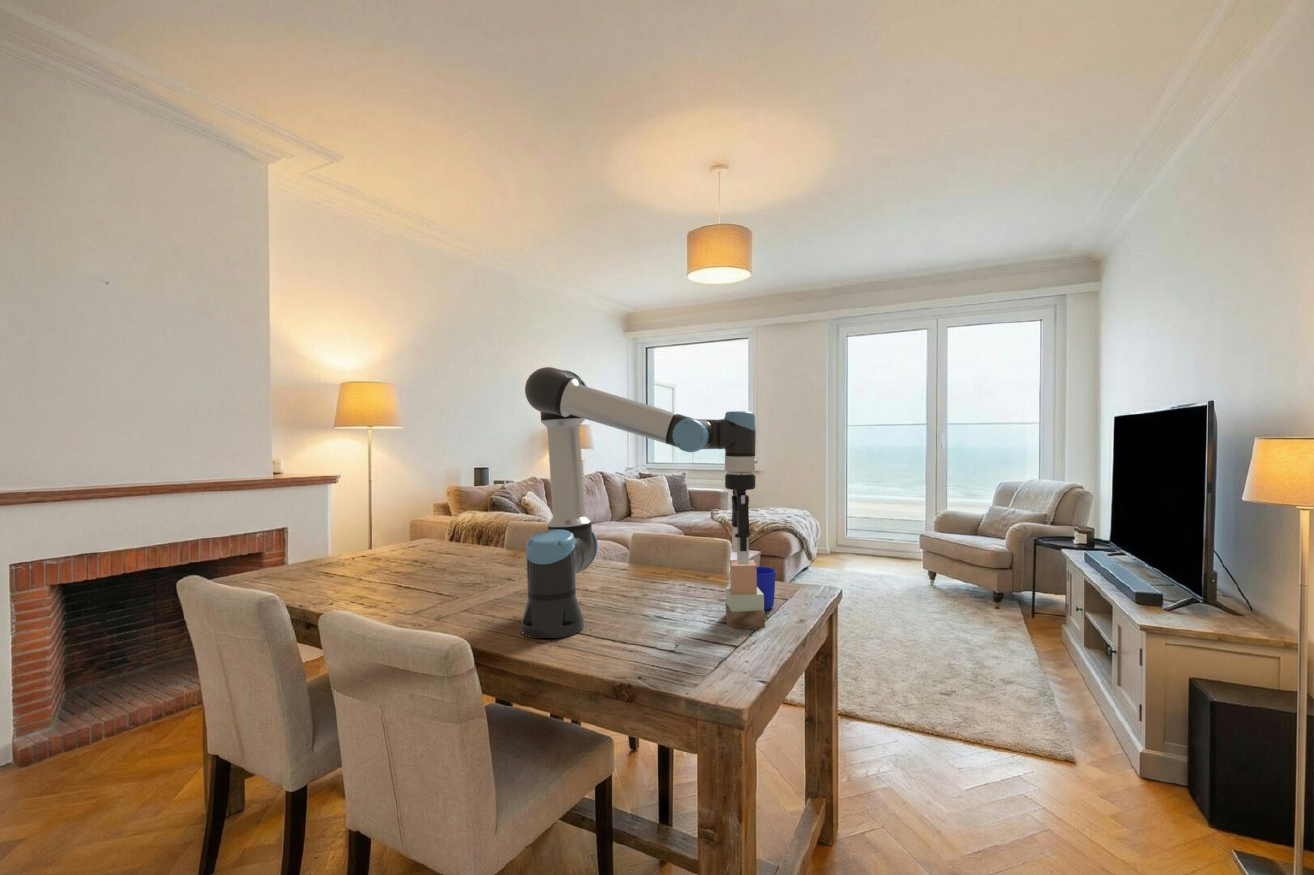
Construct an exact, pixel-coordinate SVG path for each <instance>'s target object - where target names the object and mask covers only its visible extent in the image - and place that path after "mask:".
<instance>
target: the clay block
mask: <svg viewBox="0 0 1314 875" xmlns="http://www.w3.org/2000/svg"><path fill="white" fill-rule="evenodd" d="M756 567H757V564H756V562H755V560H754V559H749V565H746V564H737V559H736V560H735V559H731V560H729V581H730V582H729V584H730V586H729V587H730V588H731V591H732V594H757V570H756Z"/></svg>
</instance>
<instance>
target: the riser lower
mask: <svg viewBox="0 0 1314 875" xmlns="http://www.w3.org/2000/svg"><path fill="white" fill-rule="evenodd" d="M765 616H766V613H765V610H764V611H742V612H731V610H730V608H729V607H728V605H727V604H726V603H725V618H726V625H727V627H728V628H739V627H740V628H765V627H766V617H765Z"/></svg>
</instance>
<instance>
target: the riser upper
mask: <svg viewBox="0 0 1314 875" xmlns="http://www.w3.org/2000/svg"><path fill="white" fill-rule="evenodd" d="M724 590H725V605H726V604H727V605H728V607H729V608H730V610H731V612H742V611H765V610H764V594H763V593H762V592H761V591H760V589H759V588H758V587H757V594H732V591H731V588H730V586H725V588H724Z"/></svg>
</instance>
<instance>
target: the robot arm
mask: <svg viewBox="0 0 1314 875" xmlns="http://www.w3.org/2000/svg"><path fill="white" fill-rule="evenodd" d="M524 394H525V398H526V401H527V402H528V404H529V405H530V406H531V407H532V408H533V409H534V410H536V411H537V412H540V422H541V423H542V425H544V426H545V427H546V430H547V447H548V461H549V476H550V489H551V490H550V491H551V492H550V493H551V506H552V518H551V519H550V520H549V522H548V523H547V530H543V531H539V532H536V533H534V534H532V535H531V536H529V538H528V539H527V541H526V550H525V556H526V577H527V578H526V579H527V582H526V583H527V600H526V601H527V602H526V605H525V607H524V612H523V615H522V618H521V621H520V626H521V628H520V631H522V632H523V633H524V634H525V635H527V636H530V637H534V638H533V639H536V638H555V639H560V638H559V637H562V638H567V637H570V636H573V635H576V634H577V633H579V632H581V631H583V629H584V627H585V623H584V621H585V620H584V619H585V618H584V616H583V612H582V610H581V607H580V604H579V602H578V599H577V591H576V590H577V589H576V584H577V583H576V581H577V580H576V575H577V574H579V573H580V572H581V571H584V570H585V569H587V568H588V567H589V566H590V565H591V564H592V563H593V561H594V560H595V559H596V557H597V554H598V550H599V542H598V538H597V535H596V533H595V532H594V531H593V527H592V526H593V525H592V520H591V519H590V518H589V517H588V516H587V515H586V509H585V508H586V507H585V494H584V493H585V491H584V480H583V479H584V477H583V461H582V459H583V457H582V443H581V442H582V441H581V430H580V428H581V425H582V424H583V422H585V420H587V421H591V422H595V423H598V424H600V425H605V426H607V427H611V428H614V429H618V430H621V431H623V432H627V433H631V434H634V435H637V436H640V437H643V438H647V439H650V440H653V441H657V442H659V443H663V444H666V445H669V446H671V447H672V446H673V447H674V448H678V449H679V450H681V451H683V452H687V453H696V452H698V451H701V450H724V452H725V453H724V471H725V472H726V474H725V475H724V482H725V483H724V486H725V489H727V490H731V491H732V495H731V525H732V527H731V528H732V530H731V532H732V533H731V534H732V535H731V536H732V537H731V545H732V546H731V549H732V550H731V551H732V552H731V553H736V560H737V564H746V565H749V560H750V557H749V556H750V553H749V550H750V548H749V546H750V545H749V543H750V540H749V539H750V538H749V537H750V536H751V532H750V517H749V514H750V513H749V512H750V510H749V509H750V507H749V504H750V503H749V502H750V497H749V495H748V494H747V492H746V491H750V490H751V491H752V490H755V489H756V475H755V474H756V473H755V472H756V465H755V464H758V462H759V460H758V459H756V443H757V441H756V438H757V437H756V436H757V435H756V433H757V428H756V416H755V413H754V412H753V411H747V410H746V411H740V410H739V411H726V412H725V415H724V418H721V419H710V418H709V419H708V418H707V419H699V418H693V417H690V416H686V415H684V414H683V415H682V414H679V413H676V412H672V411H670V410H666V409H663V408H659V407H655V406H652V405H649V404H646V403H642V402H639V401H635V400H632V399H630V398H626V397H622V396H619V395H616V394H612V393H609V392H606V391H602V390H599V389H596V388H593V387H589V386H588V385H587V383H586V382H585V380H584V379H583V378H582V377H581V376H579V375H578V374H576V373H575V372H573V371H571V370H565V369H558V368H556V367H555V368H554V367H552V366H549V367H548V366H546V367H545V366H543V367H541V368H538V369H536V370H535V371H533V372H532V373H531V374H530V375H529V376H528V378H527V380H526V382H525V387H524ZM522 632H521V633H522ZM525 635H524V636H525ZM527 636H526V637H527ZM530 637H529V638H530Z"/></svg>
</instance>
